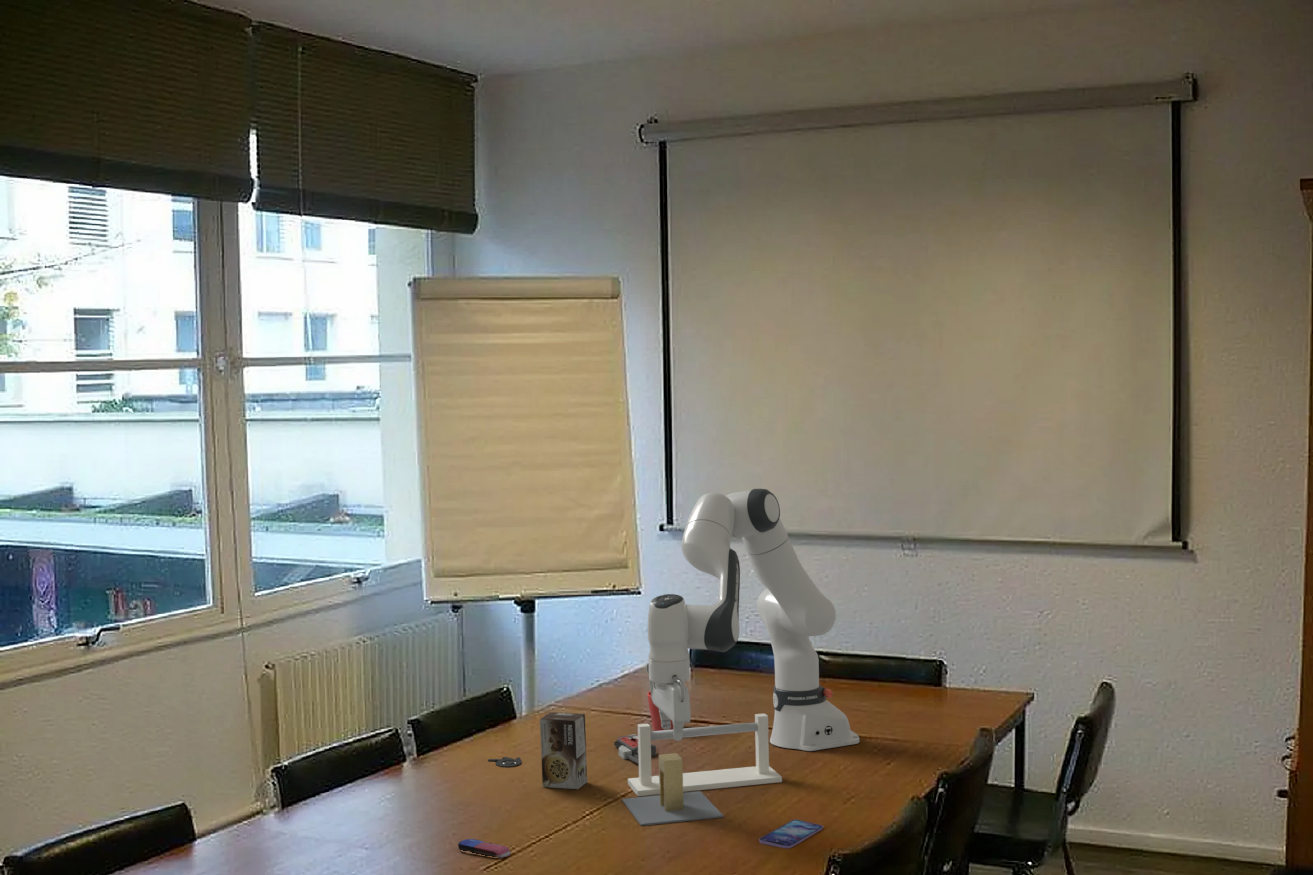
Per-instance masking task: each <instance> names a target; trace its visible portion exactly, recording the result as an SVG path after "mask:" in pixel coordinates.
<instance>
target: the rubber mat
mask: <svg viewBox="0 0 1313 875" xmlns="http://www.w3.org/2000/svg"><path fill="white" fill-rule="evenodd" d="M621 801H622V802H623V804H624V805H625V807H627V809H628V811H629V812H630V813H631V815H632V816H633V817H634V819H635V820H636V821H637V823H638V824H639V826H641V827H642V826H643V827H644V826H654V825H661V824H662V825H663V824H671V823H672V824H673V823H682V822H690V821H691V822H692V821H701V820H711V819H720V818H724V814H723V813H722V812H721V811H720V809H718V808H717V807H716V806H715V805H714V804H713V803H712V801H710V800H709V799H708V797H706V795H705V794H704V792H702V790H696V791H686V792H683V810H673V811H665V810H664V806H661V805H660V794H656V795H646V796H637V797H628V798H622V799H621Z"/></svg>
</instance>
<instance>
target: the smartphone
mask: <svg viewBox="0 0 1313 875" xmlns="http://www.w3.org/2000/svg"><path fill="white" fill-rule="evenodd" d="M823 828H824V825H821V824H820V823H813V822H810V821H804V820H800V819H792V820H790V821H788V822H787V823H785V824H783V825H781V826H780V827H778V828H775V829H774V830H771V831H770V832H768V833H766V834H765V835H763V836H762V837H759V839H758V840H759V843H760V844H763V845H768V846H772V847H776V848H777V847H778V848H780V849H781V848H782V849H791V848H793V847H794V846H797V845H798V844H800V843H802V842H803V841H806V839H808V838H810V837H812V836H814V835H815V834H817V833H819V832H821V831H822V830H823Z"/></svg>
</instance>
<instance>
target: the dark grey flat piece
mask: <svg viewBox="0 0 1313 875" xmlns="http://www.w3.org/2000/svg"><path fill="white" fill-rule="evenodd" d="M487 762H489V763H491V762H495V766H497V767H499V768H515V767H518V766H521V765H522V759H521V757H515V758H513V757H508V756H502V758H489V759H487Z"/></svg>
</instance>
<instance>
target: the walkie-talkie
mask: <svg viewBox="0 0 1313 875" xmlns="http://www.w3.org/2000/svg"><path fill="white" fill-rule="evenodd" d="M613 746H615V747H616V749H618V757H620V758H621V759H623V760H630V761H632V762H633V763H636V764H637V765H639V761H638V734H635V733H634V734H628V735H625V736H619V737H618V738H617V739H616V741H614V742H613ZM656 756H657V746H656V745H655V744H653V743H652V742H651V757H656Z"/></svg>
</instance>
